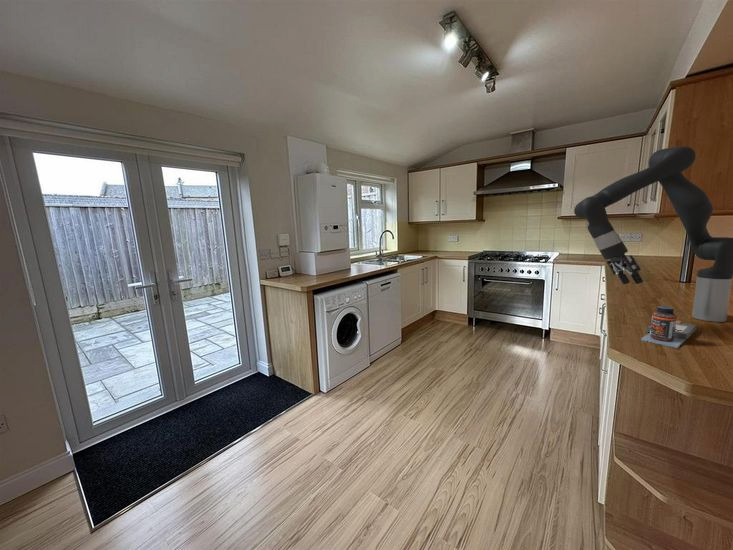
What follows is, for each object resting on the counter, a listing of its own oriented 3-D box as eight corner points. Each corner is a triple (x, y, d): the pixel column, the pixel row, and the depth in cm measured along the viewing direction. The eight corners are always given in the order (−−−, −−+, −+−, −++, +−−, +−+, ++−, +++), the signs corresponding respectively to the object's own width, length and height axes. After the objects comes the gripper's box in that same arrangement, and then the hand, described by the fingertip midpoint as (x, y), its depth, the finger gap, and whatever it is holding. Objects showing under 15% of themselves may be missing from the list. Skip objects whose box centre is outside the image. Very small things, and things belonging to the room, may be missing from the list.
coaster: (649, 334, 107) (649, 332, 107) (684, 341, 100) (684, 339, 100) (640, 340, 103) (641, 338, 102) (677, 348, 95) (677, 346, 95)
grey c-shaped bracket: (661, 322, 119) (662, 315, 119) (698, 328, 111) (699, 320, 110) (646, 332, 109) (647, 324, 109) (685, 340, 101) (686, 332, 100)
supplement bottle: (645, 337, 103) (649, 306, 101) (655, 334, 105) (658, 304, 104) (668, 343, 98) (671, 310, 96) (678, 340, 100) (681, 307, 98)
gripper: (631, 237, 105) (656, 278, 102) (611, 243, 118) (633, 279, 116) (608, 246, 107) (632, 287, 104) (591, 251, 120) (612, 287, 118)
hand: (632, 283), depth 110 cm, fingers open, 8 cm apart
